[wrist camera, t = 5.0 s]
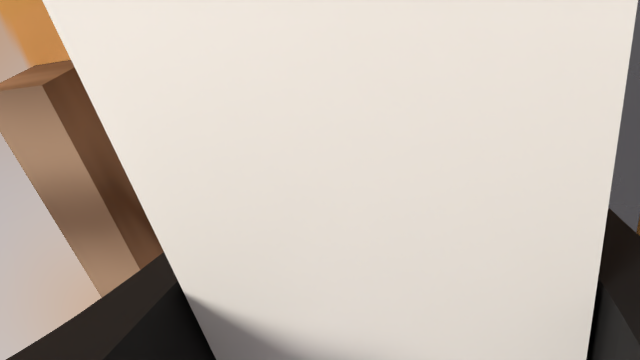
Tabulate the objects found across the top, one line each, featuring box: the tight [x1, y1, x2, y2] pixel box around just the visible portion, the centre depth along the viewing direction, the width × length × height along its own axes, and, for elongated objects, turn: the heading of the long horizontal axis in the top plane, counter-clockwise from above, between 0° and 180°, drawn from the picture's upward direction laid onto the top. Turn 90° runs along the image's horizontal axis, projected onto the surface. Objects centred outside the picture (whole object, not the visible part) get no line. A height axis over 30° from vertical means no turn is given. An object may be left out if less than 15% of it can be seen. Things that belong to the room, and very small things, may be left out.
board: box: [42, 0, 638, 360], centre depth 7 cm, size 14×5×2 cm, turn 12°
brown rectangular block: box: [0, 60, 164, 297], centre depth 21 cm, size 12×3×3 cm, turn 12°
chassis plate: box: [608, 0, 640, 232], centre depth 14 cm, size 20×14×4 cm
